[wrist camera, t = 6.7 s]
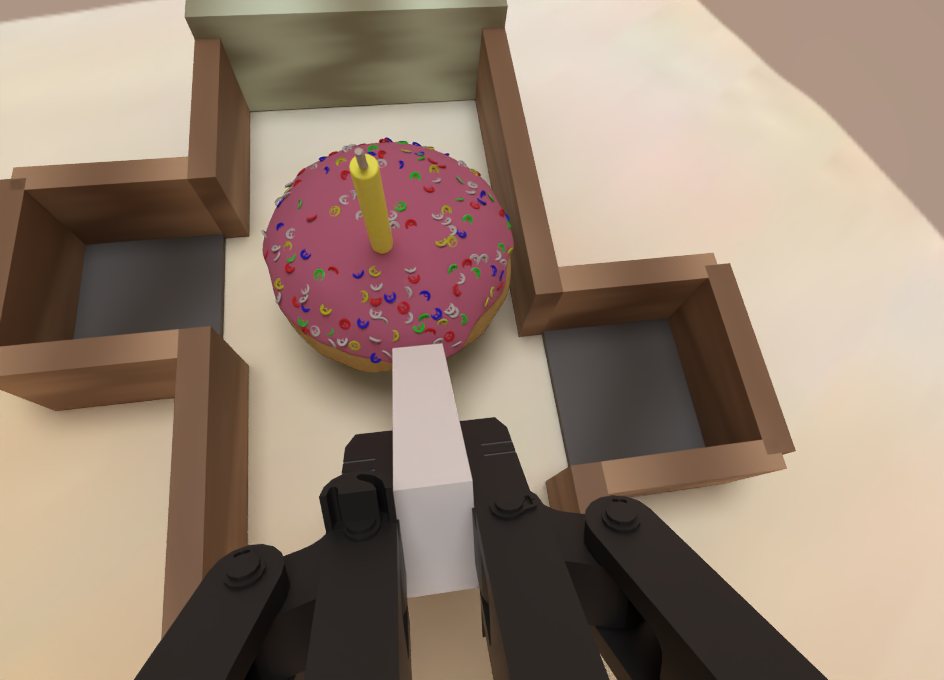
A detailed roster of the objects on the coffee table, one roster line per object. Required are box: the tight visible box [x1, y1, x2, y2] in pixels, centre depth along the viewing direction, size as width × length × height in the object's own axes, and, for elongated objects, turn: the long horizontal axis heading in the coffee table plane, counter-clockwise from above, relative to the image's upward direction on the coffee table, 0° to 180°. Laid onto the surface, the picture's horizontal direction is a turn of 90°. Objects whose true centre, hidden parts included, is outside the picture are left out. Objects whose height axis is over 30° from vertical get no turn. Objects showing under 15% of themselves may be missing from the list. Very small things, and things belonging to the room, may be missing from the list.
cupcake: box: [262, 138, 514, 372], centre depth 17 cm, size 9×8×12 cm
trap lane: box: [0, 0, 796, 640], centre depth 20 cm, size 26×25×5 cm
